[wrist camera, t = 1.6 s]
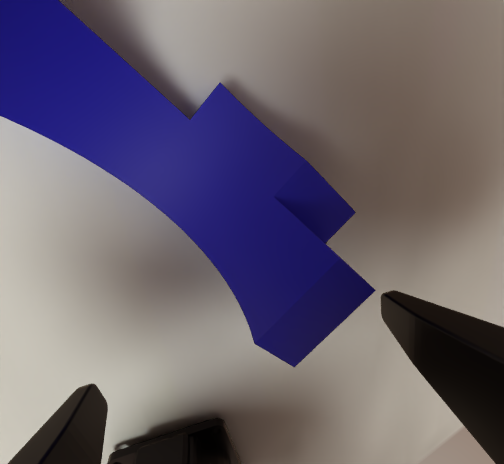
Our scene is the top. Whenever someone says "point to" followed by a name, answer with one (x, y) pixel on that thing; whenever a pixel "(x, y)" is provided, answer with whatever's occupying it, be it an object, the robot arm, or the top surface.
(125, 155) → the cable clip
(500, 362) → the robot arm
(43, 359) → the top surface
